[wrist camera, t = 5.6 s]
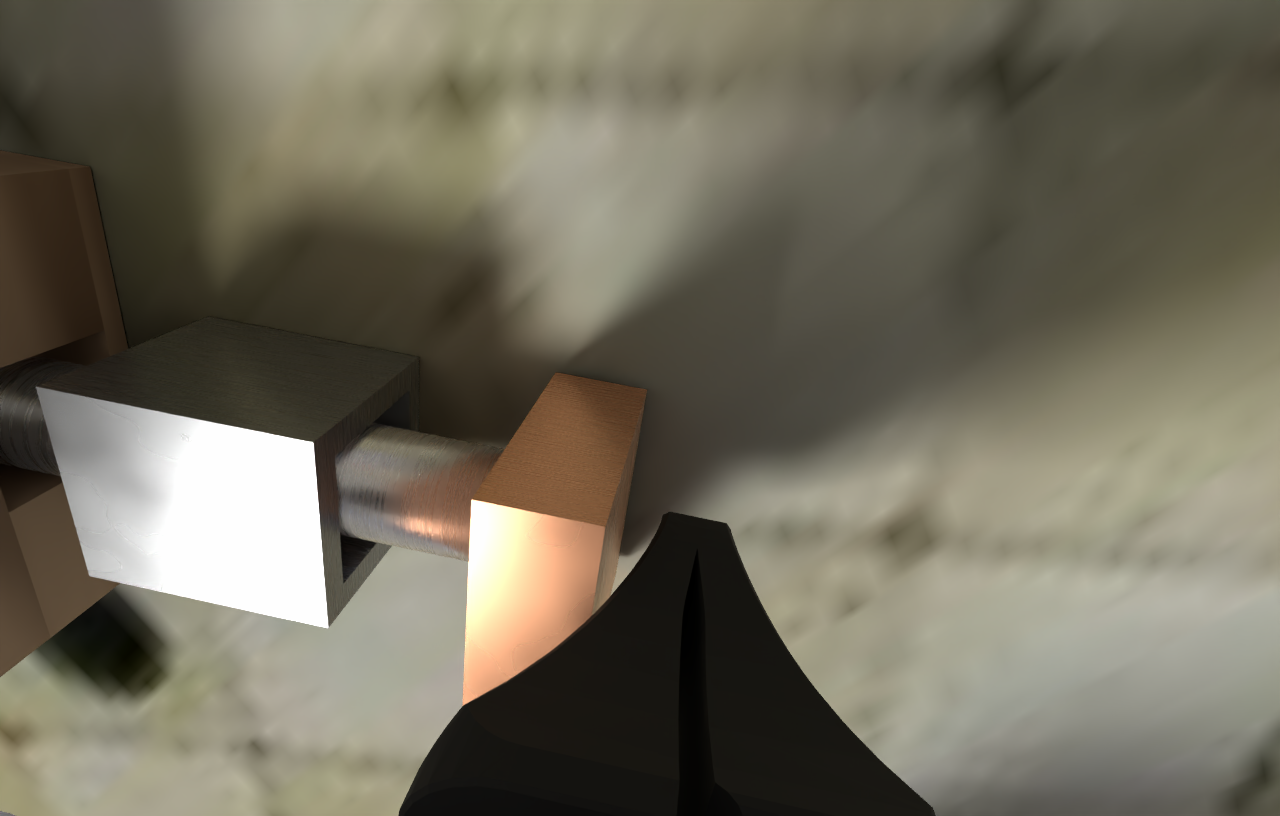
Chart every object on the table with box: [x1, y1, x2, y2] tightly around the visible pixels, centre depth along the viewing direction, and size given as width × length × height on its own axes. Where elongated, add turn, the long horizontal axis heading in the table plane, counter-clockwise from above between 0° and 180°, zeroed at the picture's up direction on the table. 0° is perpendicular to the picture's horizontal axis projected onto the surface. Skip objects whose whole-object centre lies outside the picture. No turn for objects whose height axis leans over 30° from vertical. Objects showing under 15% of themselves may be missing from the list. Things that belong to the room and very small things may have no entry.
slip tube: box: [0, 356, 647, 705], centre depth 13 cm, size 16×5×5 cm, turn 81°
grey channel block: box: [36, 316, 419, 628], centre depth 14 cm, size 5×4×4 cm
